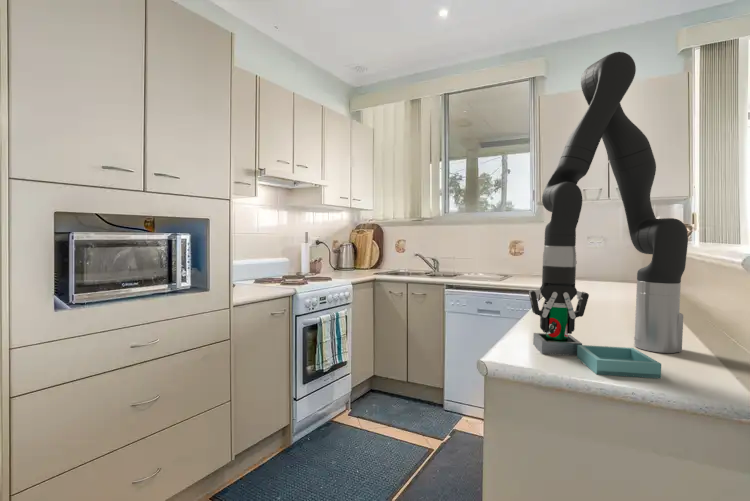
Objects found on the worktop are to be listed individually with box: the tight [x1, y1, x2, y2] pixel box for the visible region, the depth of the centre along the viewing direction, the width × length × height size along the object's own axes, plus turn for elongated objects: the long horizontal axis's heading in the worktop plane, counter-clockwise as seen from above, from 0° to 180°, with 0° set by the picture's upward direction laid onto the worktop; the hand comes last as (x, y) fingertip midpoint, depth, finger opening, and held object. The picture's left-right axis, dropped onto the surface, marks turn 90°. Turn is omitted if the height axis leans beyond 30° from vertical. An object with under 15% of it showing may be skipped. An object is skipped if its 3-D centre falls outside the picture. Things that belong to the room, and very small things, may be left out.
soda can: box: [546, 303, 569, 342], centre depth 102 cm, size 5×5×12 cm
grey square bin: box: [532, 332, 583, 357], centre depth 102 cm, size 9×9×3 cm
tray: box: [576, 344, 662, 379], centre depth 89 cm, size 12×12×3 cm
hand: (556, 332), depth 102 cm, fingers closed on soda can, 5 cm apart
